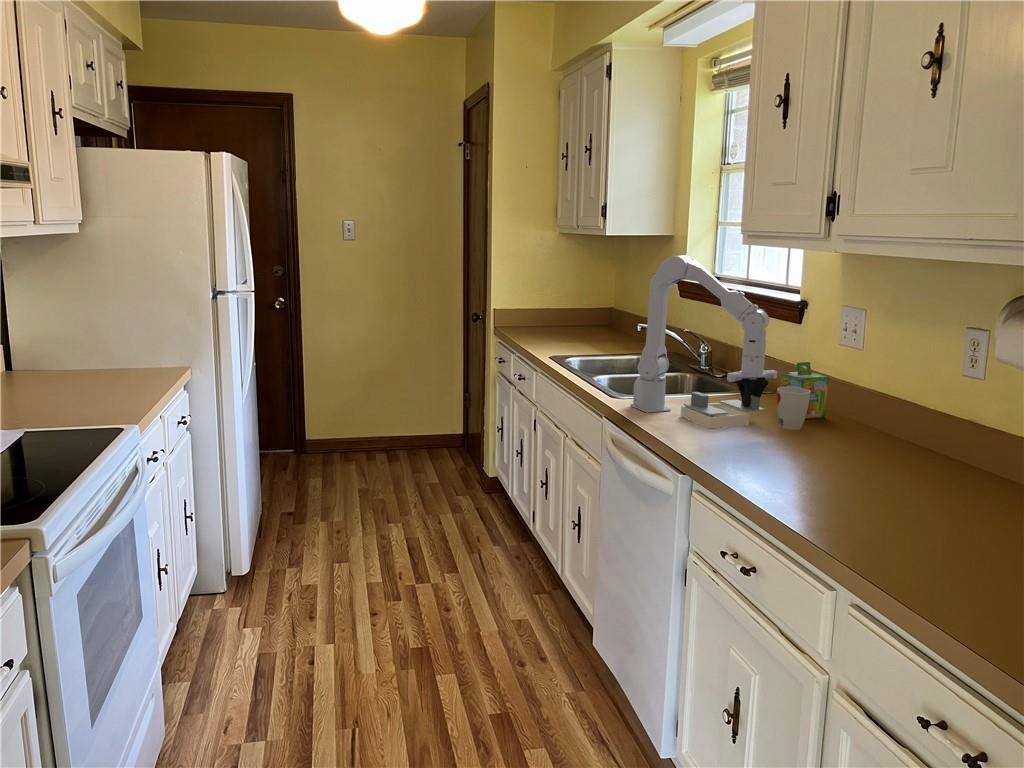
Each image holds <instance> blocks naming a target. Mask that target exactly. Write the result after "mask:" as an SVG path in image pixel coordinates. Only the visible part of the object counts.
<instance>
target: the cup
mask: <svg viewBox="0 0 1024 768" xmlns="http://www.w3.org/2000/svg"><path fill="white" fill-rule="evenodd" d="M776 390H777V392H776V397H777V398H776V407H777V409H776V410H777V417H778V421H779V425H780V428H781V427H782V429H785V430H793V431H795V430H796V431H797V430H801V429H802V427H803V424H804V422H805V420H806V419H805V416H806V413H807V409H808V404H809V397H810V390H808V389H804V388H798V387H781V386H780V387H777V389H776Z"/></svg>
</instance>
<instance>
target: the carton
mask: <svg viewBox="0 0 1024 768" xmlns="http://www.w3.org/2000/svg"><path fill="white" fill-rule="evenodd" d="M708 405H710V406H712V407H715V408H718V409H721V410H723V411H726V412H728V414H721V415H707V414H705V413H702V412H700V411H697V410H695V409H692V408H689V407H687V406H684V405H681V407H680V418H683V417H684V418H683V419H685V418H686V420H688V419H689V421H690V420H691V421H690V422H692V421H693V422H692V423H695V424H697V423H698V425H700V426H702V425H703V426H702V427H705V426H706V427H705V428H707V427H708V428H707V429H709V428H715V429H721V428H720V427H725V428H732V427H733V426H735V427H742V426H743V427H745V426H750V419H751V418H750V413H749V412H746V411H743V410H740V409H737V408H734V407H732V406H729V405H726V404H723V403H720V402H712V403H708ZM744 425H745V426H744ZM733 428H734V427H733Z"/></svg>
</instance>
